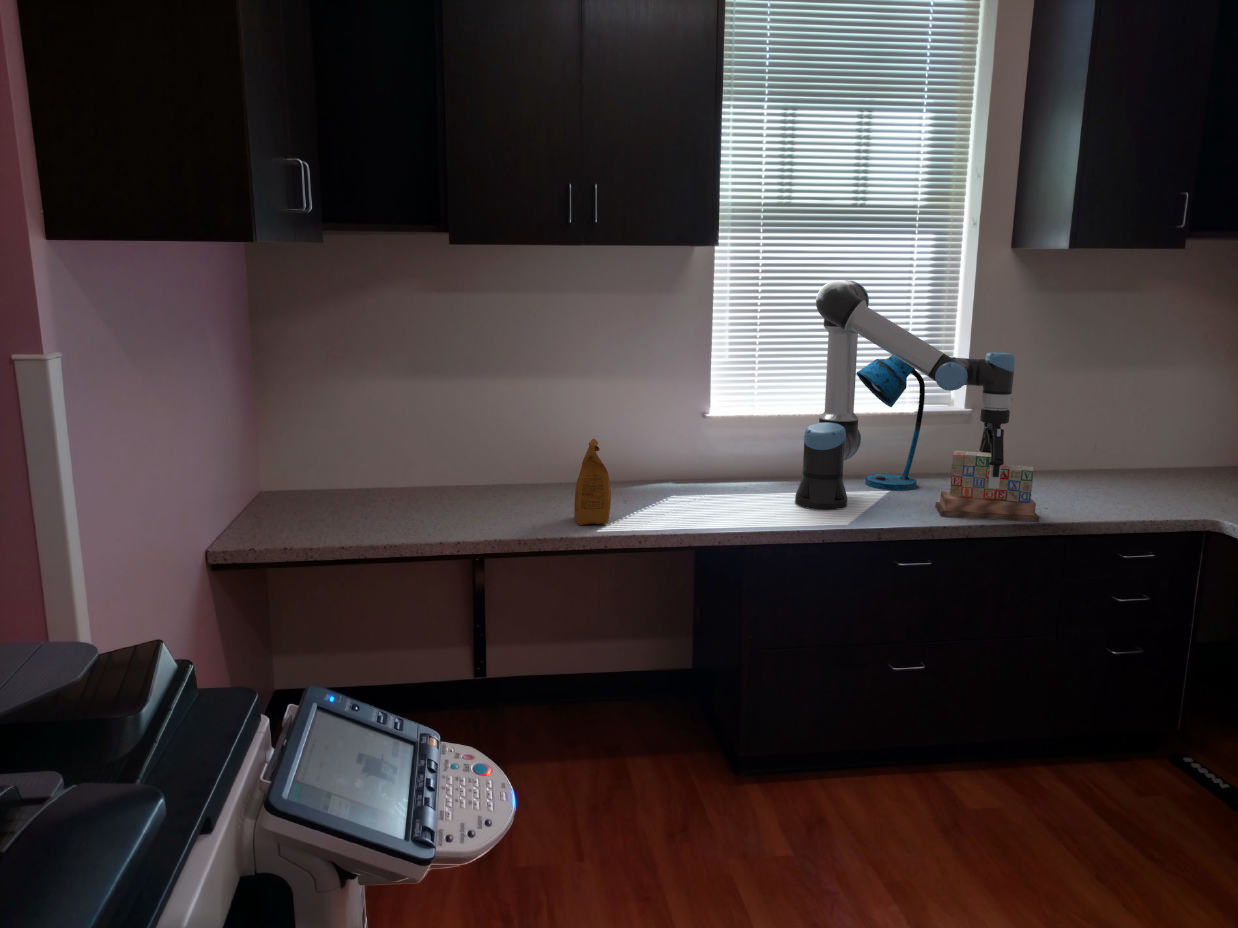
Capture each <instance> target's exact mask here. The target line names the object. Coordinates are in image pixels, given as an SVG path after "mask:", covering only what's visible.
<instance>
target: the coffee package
mask: <svg viewBox="0 0 1238 928" xmlns="http://www.w3.org/2000/svg"><path fill="white" fill-rule="evenodd" d="M598 445H599V441H597V439H596V438H595V437H594V438H592V439H591V440H590V441H589V442H588V448H587V451H586V453H585V454H584V457H583V460H582V463H581V466H580V471H579V473H578V478H577V480H576V485H575V490H574V491H575V492H574V505H573V506H574V509H573V510H574V511H573V512H574V519H575V521H576V523H577V525H579V526H584V525H585V526H586V525H595V524H597V525H601V524H608V523H609V519H610V513H611V503H612V491H611V490H612V489H611V483H610V474H609V471H608V470H607V468H606V466H605V465H604V463H603V462H602V459H601V458H600V456H599V455H598V454H597V452H599V451H600V449H601V448H600V447H599V446H598Z"/></svg>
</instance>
